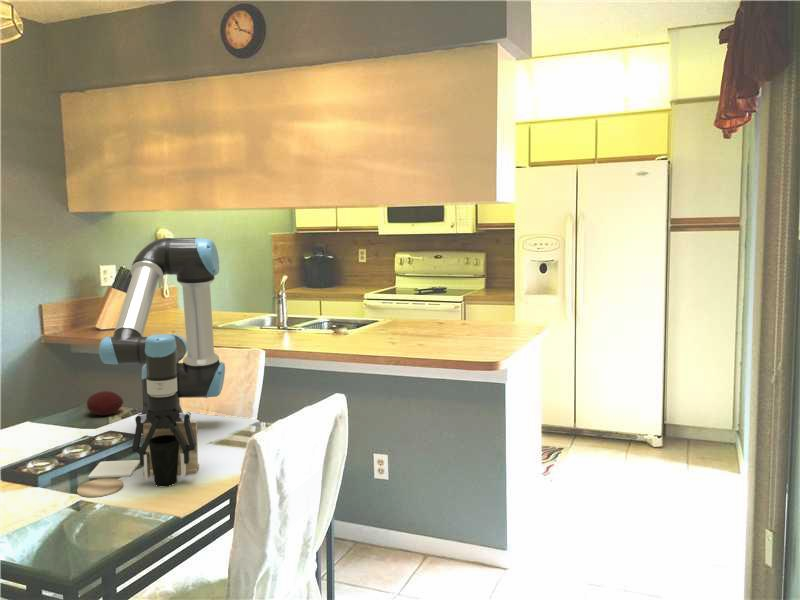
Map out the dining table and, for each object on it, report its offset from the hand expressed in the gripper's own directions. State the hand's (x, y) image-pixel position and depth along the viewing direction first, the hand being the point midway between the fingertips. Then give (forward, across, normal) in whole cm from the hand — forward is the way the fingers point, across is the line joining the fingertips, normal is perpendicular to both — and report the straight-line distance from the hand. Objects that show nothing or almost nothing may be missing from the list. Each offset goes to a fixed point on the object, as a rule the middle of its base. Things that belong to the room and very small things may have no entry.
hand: (165, 475), depth 175 cm
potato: (+2, -35, +67) cm, 76 cm away
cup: (+2, 0, 0) cm, 2 cm away
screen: (+2, 0, +8) cm, 8 cm away
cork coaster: (+2, -16, -2) cm, 16 cm away
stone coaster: (+2, -16, +11) cm, 20 cm away
